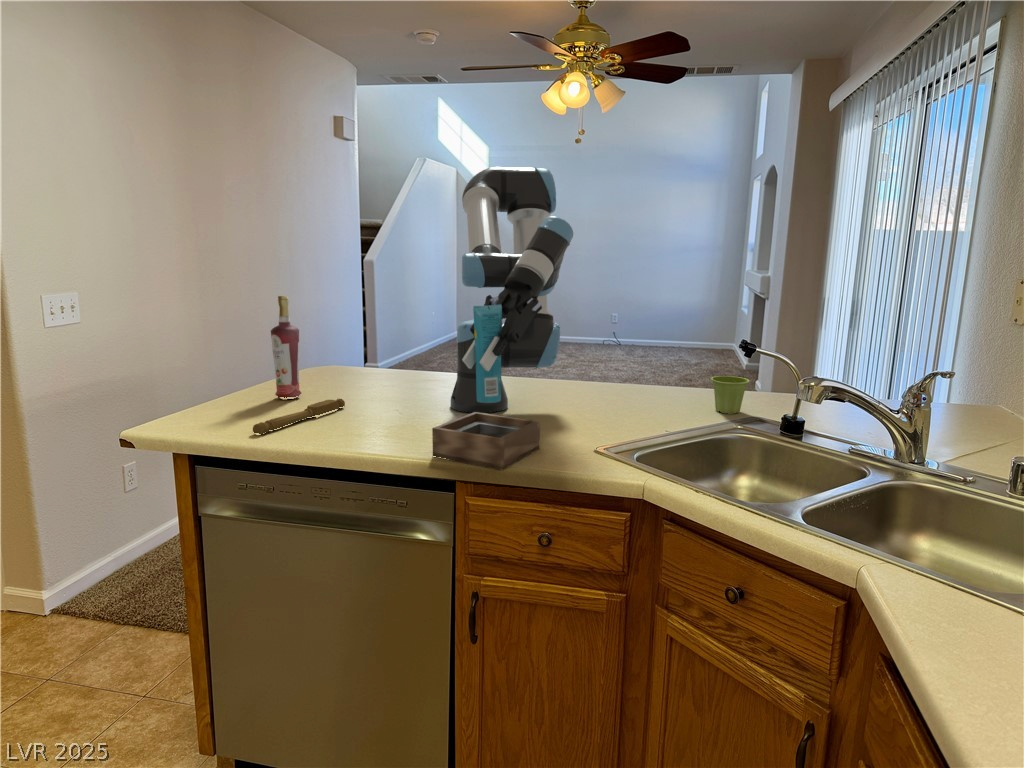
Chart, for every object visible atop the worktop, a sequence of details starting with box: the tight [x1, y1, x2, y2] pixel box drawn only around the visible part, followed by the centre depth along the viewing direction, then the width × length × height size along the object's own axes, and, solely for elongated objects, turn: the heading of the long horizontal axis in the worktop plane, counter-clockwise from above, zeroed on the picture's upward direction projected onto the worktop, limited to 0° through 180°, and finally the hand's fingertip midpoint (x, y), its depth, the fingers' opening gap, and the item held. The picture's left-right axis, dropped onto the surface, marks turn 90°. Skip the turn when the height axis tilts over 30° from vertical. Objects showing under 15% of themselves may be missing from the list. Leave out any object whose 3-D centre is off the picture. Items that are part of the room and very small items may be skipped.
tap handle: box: [252, 398, 346, 434], centre depth 164 cm, size 3×3×30 cm
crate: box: [431, 412, 541, 471], centre depth 139 cm, size 16×16×6 cm
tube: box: [472, 305, 503, 403], centre depth 134 cm, size 7×5×19 cm, turn 140°
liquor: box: [270, 295, 302, 398], centre depth 184 cm, size 7×7×28 cm
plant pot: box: [710, 375, 750, 415], centre depth 177 cm, size 9×9×9 cm
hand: (475, 365), depth 132 cm, fingers closed on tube, 4 cm apart
